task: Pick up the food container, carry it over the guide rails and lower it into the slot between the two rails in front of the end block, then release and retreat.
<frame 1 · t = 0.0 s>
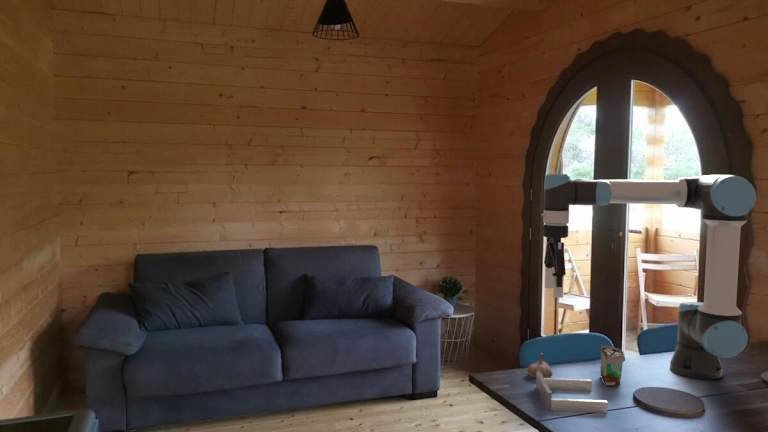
hand: (553, 292, 184), 28 cm above the table, tool pointing down, fingers open, 13 cm apart
rail dock: (571, 399, 171), on the table
food container: (613, 383, 185), on the table
garlic bulb: (539, 377, 190), on the table
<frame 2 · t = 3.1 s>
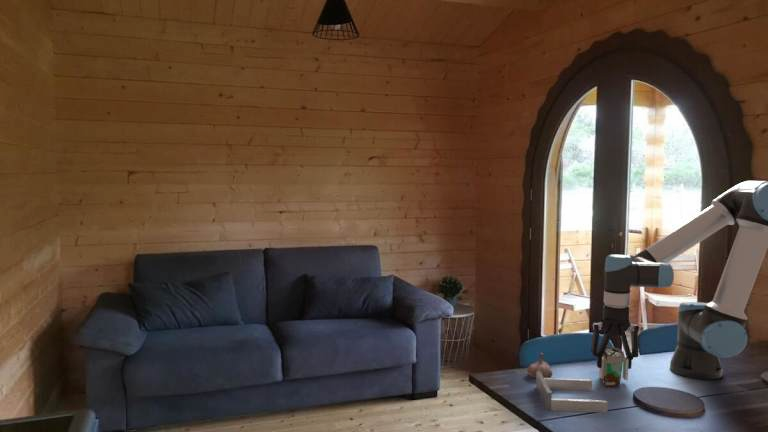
hand: (613, 378, 185), 1 cm above the table, tool pointing down, fingers closed on food container, 6 cm apart
food container: (613, 383, 185), on the table, touching gripper
everything else where it was.
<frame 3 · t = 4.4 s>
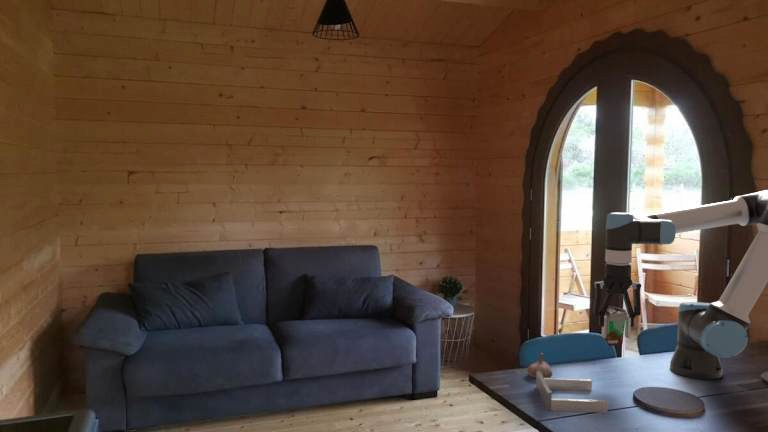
hand: (615, 337, 184), 15 cm above the table, tool pointing down, fingers closed on food container, 6 cm apart
food container: (615, 342, 184), point 13 cm above the table, touching gripper
everything else where it was.
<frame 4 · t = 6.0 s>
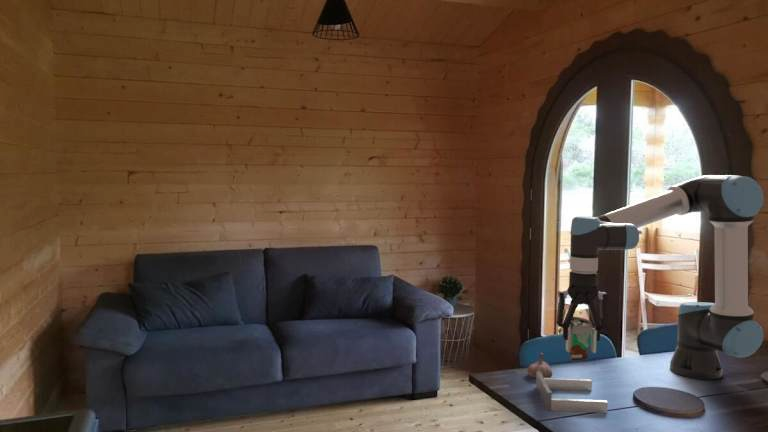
hand: (580, 351, 170), 14 cm above the table, tool pointing down, fingers closed on food container, 6 cm apart
food container: (580, 356, 170), point 13 cm above the table, touching gripper
everything else where it was.
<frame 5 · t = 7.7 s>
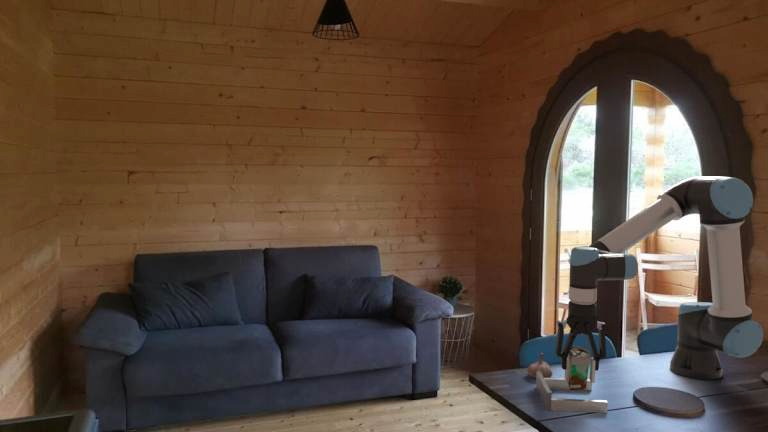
hand: (579, 380, 171), 6 cm above the table, tool pointing down, fingers closed on food container, 6 cm apart
food container: (579, 386, 171), point 4 cm above the table, touching gripper
everything else where it was.
when the fingers open (2 cm above the table, at t = 9.0 s): food container stays where it is, on the table.
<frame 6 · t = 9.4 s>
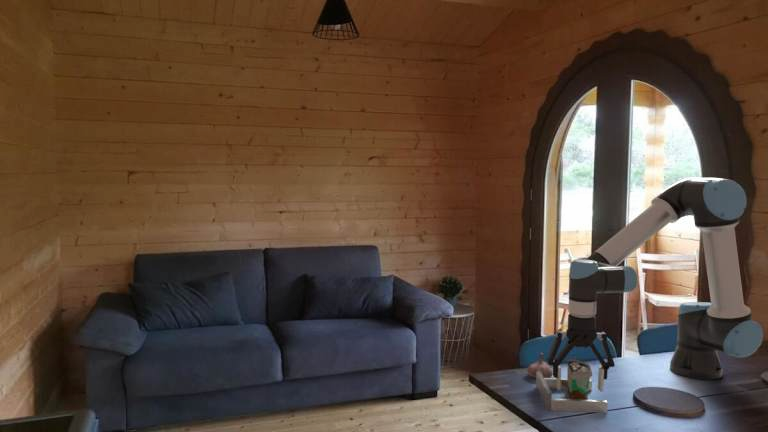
hand: (579, 389, 171), 3 cm above the table, tool pointing down, fingers open, 11 cm apart
food container: (579, 400, 171), on the table
everything else where it was.
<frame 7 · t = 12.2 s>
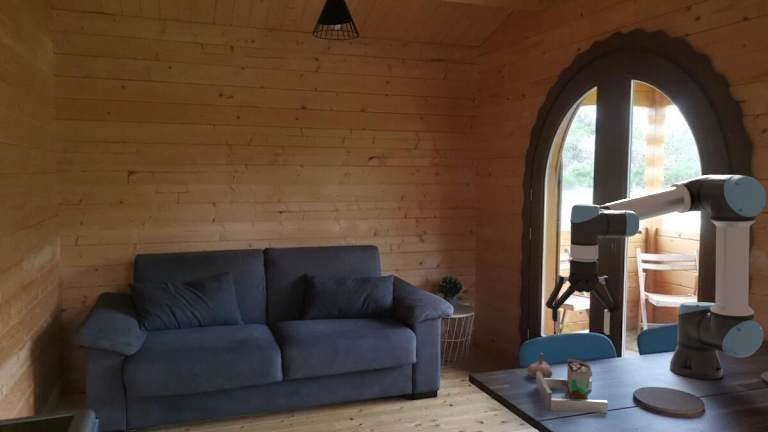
hand: (581, 333, 170), 20 cm above the table, tool pointing down, fingers open, 13 cm apart
nothing on the table moved.
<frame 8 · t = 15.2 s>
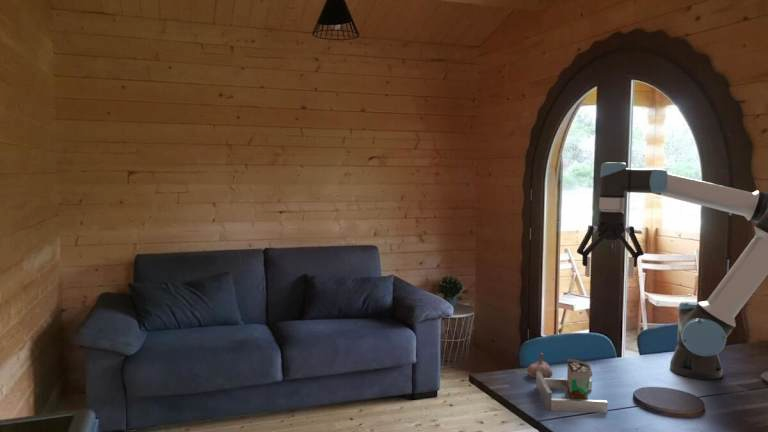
hand: (608, 276, 191), 32 cm above the table, tool pointing down, fingers open, 13 cm apart
nothing on the table moved.
at the end: food container inside the target area (1.3 cm from its centre), on the table; food container tilted 0°; the gripper is holding nothing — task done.
